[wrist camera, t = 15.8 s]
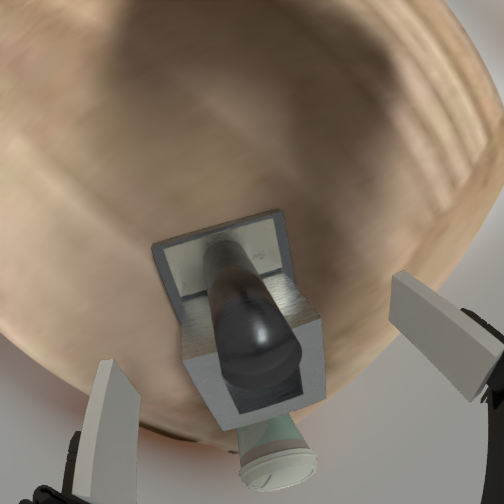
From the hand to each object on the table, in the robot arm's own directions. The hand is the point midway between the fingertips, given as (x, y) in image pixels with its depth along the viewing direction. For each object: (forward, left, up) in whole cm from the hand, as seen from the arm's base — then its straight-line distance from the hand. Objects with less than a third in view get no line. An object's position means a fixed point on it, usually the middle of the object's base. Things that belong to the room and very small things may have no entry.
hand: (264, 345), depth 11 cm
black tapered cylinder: (+1, 0, -12) cm, 12 cm away
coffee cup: (+22, -2, -13) cm, 25 cm away
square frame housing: (+5, 0, -13) cm, 14 cm away
